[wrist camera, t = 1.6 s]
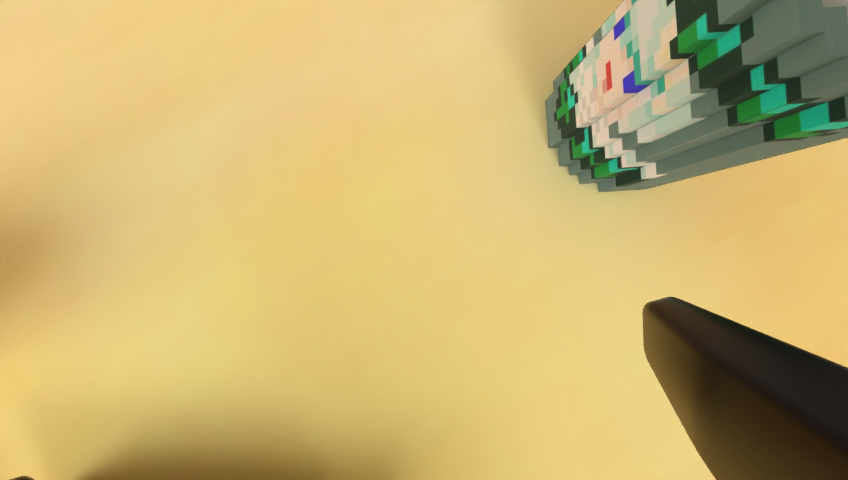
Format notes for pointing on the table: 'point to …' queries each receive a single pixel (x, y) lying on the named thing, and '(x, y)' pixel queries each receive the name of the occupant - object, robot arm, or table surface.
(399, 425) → the table surface
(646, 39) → the can
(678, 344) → the robot arm
